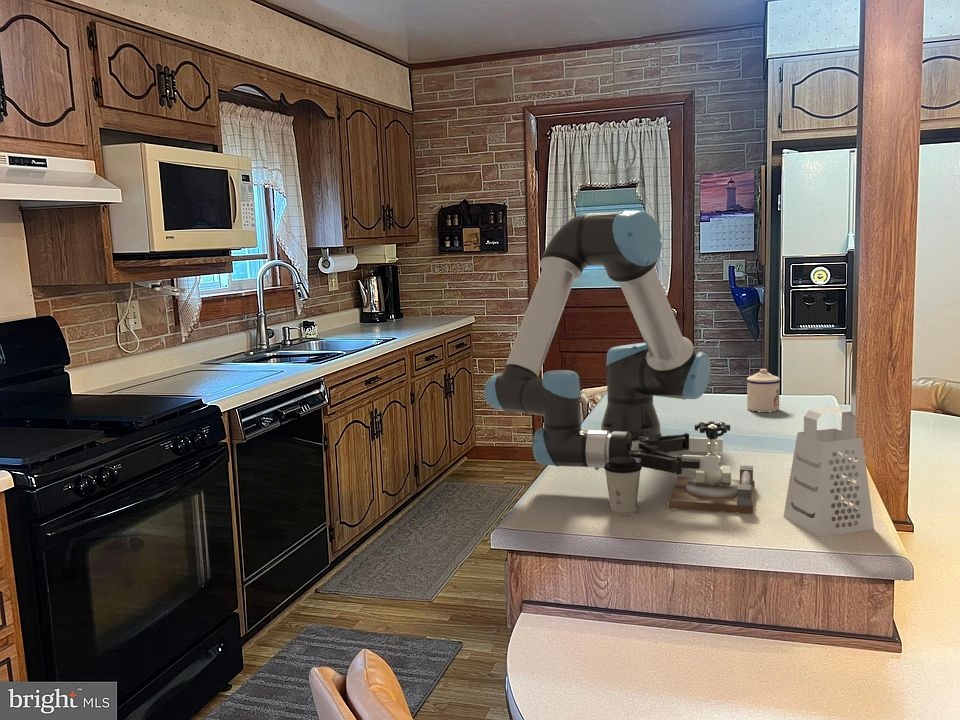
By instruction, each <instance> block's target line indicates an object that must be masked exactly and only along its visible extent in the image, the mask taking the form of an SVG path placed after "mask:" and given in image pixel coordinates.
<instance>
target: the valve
mask: <svg viewBox="0 0 960 720" xmlns="http://www.w3.org/2000/svg"><path fill="white" fill-rule="evenodd" d="M694 431H697V432H698V431H699V433H700V434H706V438H708V439H710V443H708V444H707V450H708V451H709V452H707V455H705V456H719V464H720V463H721V460H722V459H721V457H722V456H720V455H719V453H717V452H716V451H717V450H718V444H717V443H715V439H717V438H719V437H721V436H724V434H727V433H728V432H729V431H731V424H726V422H723V421H721V422H717V423H716V422H715V421H711V420H710V421H708V422H702V421H700V422H698V424H696V423H695V425H694ZM693 471H694V473H693V474H694V477H695V484H702V485H704V483H705V484H707V485H709V486H717V485H720V484H721V485H730V484H731V479H732V469H731V466H730V465H721V466H720V465H719V472H715V471H695V470H693Z"/></svg>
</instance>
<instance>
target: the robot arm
mask: <svg viewBox="0 0 960 720" xmlns="http://www.w3.org/2000/svg"><path fill="white" fill-rule="evenodd" d="M661 239H662V233H661V229H660V227H659V224H658V223H657V221H656V219H655V218H654V217H653V216H652V215H651V214H649V213H648V212H646V211H642V210H632V209H626V210H625V209H624V210H621V211H613V212H612V211H611V212H587V213H581V214H578V215H576V216H574V217H572V218H571V219H570V220H568V221H566V222H565V223H564V225H561V227H560V228H559V230H558V231H557V232H555V234H554V235H553V237H552V238H551V239H550V241H549V242H548V244H547V246H546V247H545V249H544V251H543V255H542V257H541V259H540V263H539V266H540V268H541V271H540V274H539V277H538V280H537V282H536V285H535V287H534V290H533V292H532V295H531V297H530V300H529V302H528V306H527V309H526V310H525V314H524V315H523V319H522V321H521V324H520V326H519V330H518V331H517V335H516V337H515V340H514V343H513V345H512V347H511V350H510V353H509V355H508V358H507V361H506V363H505V366H504V368H503V369H502V370H503V371H502V372H501V373H500V374H494V375H492V376H490V378H489V379H487V380H486V383H485V385H484V394H483V395H484V398H485V401H486V403H487V404H488V406H489V407H490V408H492V409H495V410H499V411H504V412H507V413H509V412H512V413H520V414H528V415H535V416H543V427H542V428H538V429H536V431H535V433H534V435H533V444H532V453H533V458H534V459H535V461H536V463H538V464H540V465H543V466H544V465H545V466H554V467H570V468H571V467H573V468H575V467H576V468H594V470H595V471H599V470H600V469H604V466H605V464H606V463H607V462H609V458H612V457H617V456H621V457H631V458H634V459H635V460H636V462H638V463H639V464H640V465H641V467H642V468H645V469H650V470H656V471H660V472H666V473H672V474H676V475H682V474H683V471H694V470H695V471H715V472H719V466H720V463H719V456H720V455H718V456H706V455H697V454H696V455H693V454H682V456H680V455H677V454H674V453H673V452H680V451H688V452H698V453H709V451H708V450H707V444H708V443H710V439H708V438H707V437H694V436H693V437H690V433H688V432H684V433H682V434H671V435H662V436H661V435H660V434H661V421H660V420H659V417H658V413H657V410H656V408H655V405H654V397H662V398H668V399H676V400H678V399H679V400H683V401H684V400H697V399H700V398H701V397H702V395H704V393H705V391H706V390H707V387H708V384H709V381H710V376H711V360H710V356H709V355H708V354H707V353H706V352H703V351H696V350H695V347H694V344H693V342H692V340H690V339H689V338H687V337H685V336H683V335H682V332H681V329H680V327H679V325H678V323H677V322H678V321H677V319H676V317H675V315H674V312H673V309H672V307H671V304H670V302H669V300H668V297H667V295H666V293H665V290H664V286H663V284H662V283H661V279H660V277H659V275H658V273H657V270H656V266H657V263H658V262H659V258H660V255H661V253H662V248H663V243H662V241H661ZM589 266H591V267H592V266H593V267H594V266H596V267H597V266H598V267H604V269H605V271H606V274H607V276H608V279H609V280H611V281H613V282H614V283H618V284H619V286H620V289H621V291H622V293H623V295H624V297H625V300H626V302H627V305H628V307H629V309H630V312H631V313H632V315H633V318H634V320H635V322H636V324H637V327H638V330H639V331H640V334H641V336H642V338H643V340H644V342H639V343H631V344H625V345H619V346H618V345H617V346H613V347H611V348H609V349H608V350H607V353H606V364H605V367H606V387H607V388H606V392H607V393H606V394H607V402H606V403H607V404H606V408H605V411H604V415H603V418H602V421H601V425H600V426H601V430H600V429H599V430H597V429H596V430H595V429H582V419H581V418H582V416H581V415H582V413H581V411H582V409H581V407H582V406H581V396H582V391H581V386H580V376H579V374H578V372H576V371H573V370H567V369H561V370H560V369H558V370H557V369H555V370H547V371H545V372H544V373H543V374H542V378H539V376H540V372H541V370H542V367H543V364H544V362H545V360H546V357H547V354H548V352H549V350H550V349H549V348H550V346H551V343H552V340H553V338H554V336H555V332H556V331H557V328H558V324H559V322H560V319H561V316H562V314H563V312H564V309H565V306H566V303H567V301H568V299H569V295H570V293H571V290H572V287H573V284H574V282H576V281H578V280H579V279H580V278H581V275H582V273H583V271H584V269H585V268H588V267H589ZM633 440H635V441H633ZM715 443H717V444H718V450H717V451H716V453H717V454H719V453H722V454H723V452H724V445H723V444H724V439H723V438H719V437H718V438H717V439H715ZM672 453H673V454H672Z"/></svg>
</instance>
